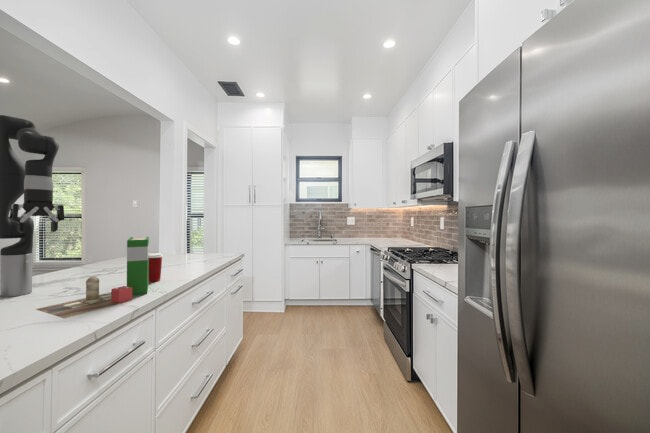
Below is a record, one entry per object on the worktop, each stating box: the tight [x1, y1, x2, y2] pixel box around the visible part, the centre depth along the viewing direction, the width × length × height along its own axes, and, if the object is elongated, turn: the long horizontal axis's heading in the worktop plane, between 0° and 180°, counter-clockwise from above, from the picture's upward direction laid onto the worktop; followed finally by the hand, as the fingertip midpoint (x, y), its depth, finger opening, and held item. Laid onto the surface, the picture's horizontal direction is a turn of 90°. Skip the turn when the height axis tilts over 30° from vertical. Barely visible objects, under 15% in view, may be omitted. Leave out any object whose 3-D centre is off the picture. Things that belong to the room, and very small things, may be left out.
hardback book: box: [126, 236, 150, 297], centre depth 129 cm, size 18×7×24 cm, turn 31°
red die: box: [110, 285, 133, 304], centre depth 113 cm, size 5×5×5 cm
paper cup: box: [148, 252, 164, 283], centre depth 147 cm, size 8×8×14 cm
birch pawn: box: [83, 276, 101, 303], centre depth 112 cm, size 6×6×10 cm
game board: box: [35, 293, 133, 319], centre depth 108 cm, size 20×22×1 cm
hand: (38, 232), depth 104 cm, fingers open, 8 cm apart
